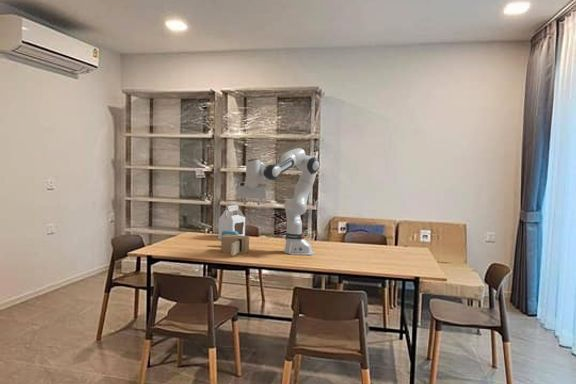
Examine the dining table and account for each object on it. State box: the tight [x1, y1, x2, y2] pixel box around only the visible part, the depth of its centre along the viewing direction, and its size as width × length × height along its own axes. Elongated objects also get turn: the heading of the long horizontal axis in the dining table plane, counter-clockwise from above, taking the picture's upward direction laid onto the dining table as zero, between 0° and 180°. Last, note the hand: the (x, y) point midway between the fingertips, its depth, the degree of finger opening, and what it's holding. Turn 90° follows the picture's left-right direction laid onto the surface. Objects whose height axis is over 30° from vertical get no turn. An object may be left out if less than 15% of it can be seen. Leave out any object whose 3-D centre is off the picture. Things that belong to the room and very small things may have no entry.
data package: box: [222, 230, 238, 236], centre depth 329 cm, size 12×4×12 cm, turn 74°
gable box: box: [218, 204, 246, 241], centre depth 365 cm, size 22×13×28 cm, turn 158°
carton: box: [220, 234, 250, 255], centre depth 313 cm, size 18×10×11 cm, turn 79°
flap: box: [230, 241, 240, 256], centre depth 298 cm, size 2×12×8 cm, turn 169°
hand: (251, 204), depth 282 cm, fingers open, 8 cm apart
